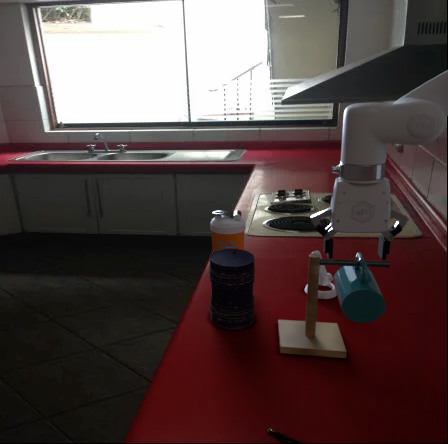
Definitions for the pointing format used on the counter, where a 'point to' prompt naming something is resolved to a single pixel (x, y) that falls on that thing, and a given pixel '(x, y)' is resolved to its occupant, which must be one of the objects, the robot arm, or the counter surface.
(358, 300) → the mug
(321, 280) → the vr controller
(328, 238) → the robot arm
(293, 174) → the counter surface
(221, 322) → the storage jar
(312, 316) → the mug stand
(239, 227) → the shaker bottle
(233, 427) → the counter surface
